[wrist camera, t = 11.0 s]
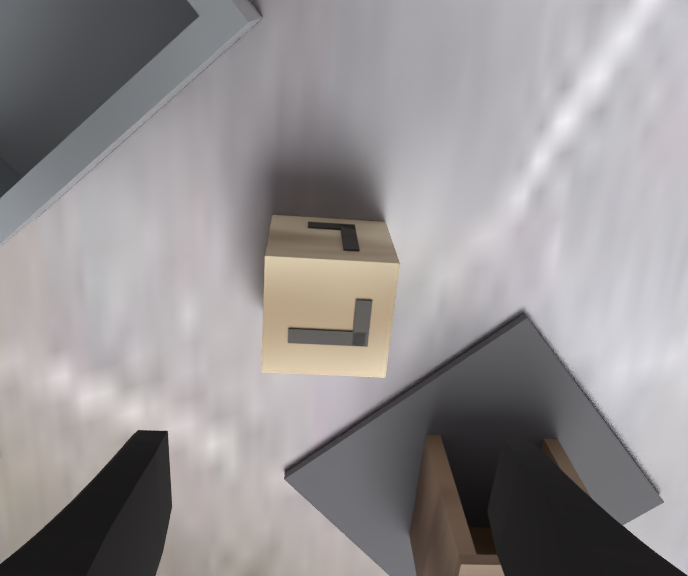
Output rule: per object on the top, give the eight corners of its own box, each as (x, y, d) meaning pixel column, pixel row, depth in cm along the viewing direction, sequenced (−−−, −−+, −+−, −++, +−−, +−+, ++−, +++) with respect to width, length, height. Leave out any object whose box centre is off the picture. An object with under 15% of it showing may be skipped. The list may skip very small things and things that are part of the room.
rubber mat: (441, 617, 31) (443, 624, 30) (284, 472, 26) (284, 479, 26) (659, 495, 28) (664, 502, 28) (523, 313, 24) (527, 317, 23)
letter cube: (374, 320, 24) (385, 378, 20) (268, 315, 23) (261, 373, 20) (385, 219, 22) (400, 262, 18) (272, 212, 22) (264, 254, 18)
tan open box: (530, 538, 28) (589, 679, 22) (409, 535, 28) (436, 679, 22) (558, 439, 26) (630, 567, 20) (425, 434, 26) (461, 564, 20)
